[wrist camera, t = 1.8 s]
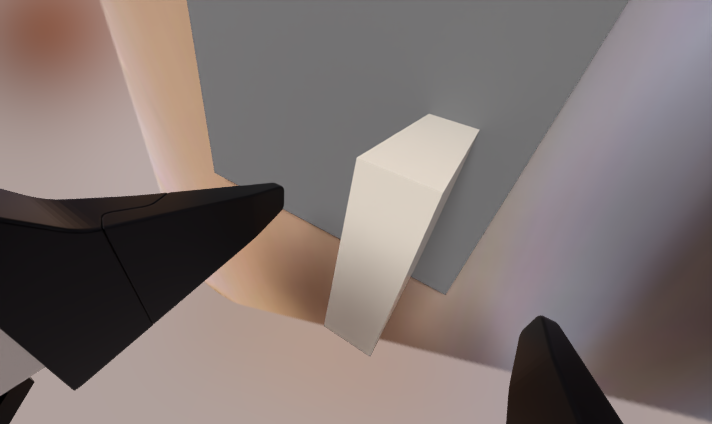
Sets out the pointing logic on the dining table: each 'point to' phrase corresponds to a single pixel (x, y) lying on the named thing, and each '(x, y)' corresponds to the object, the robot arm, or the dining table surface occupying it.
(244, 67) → the mat
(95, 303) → the robot arm
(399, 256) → the block
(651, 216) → the dining table surface
